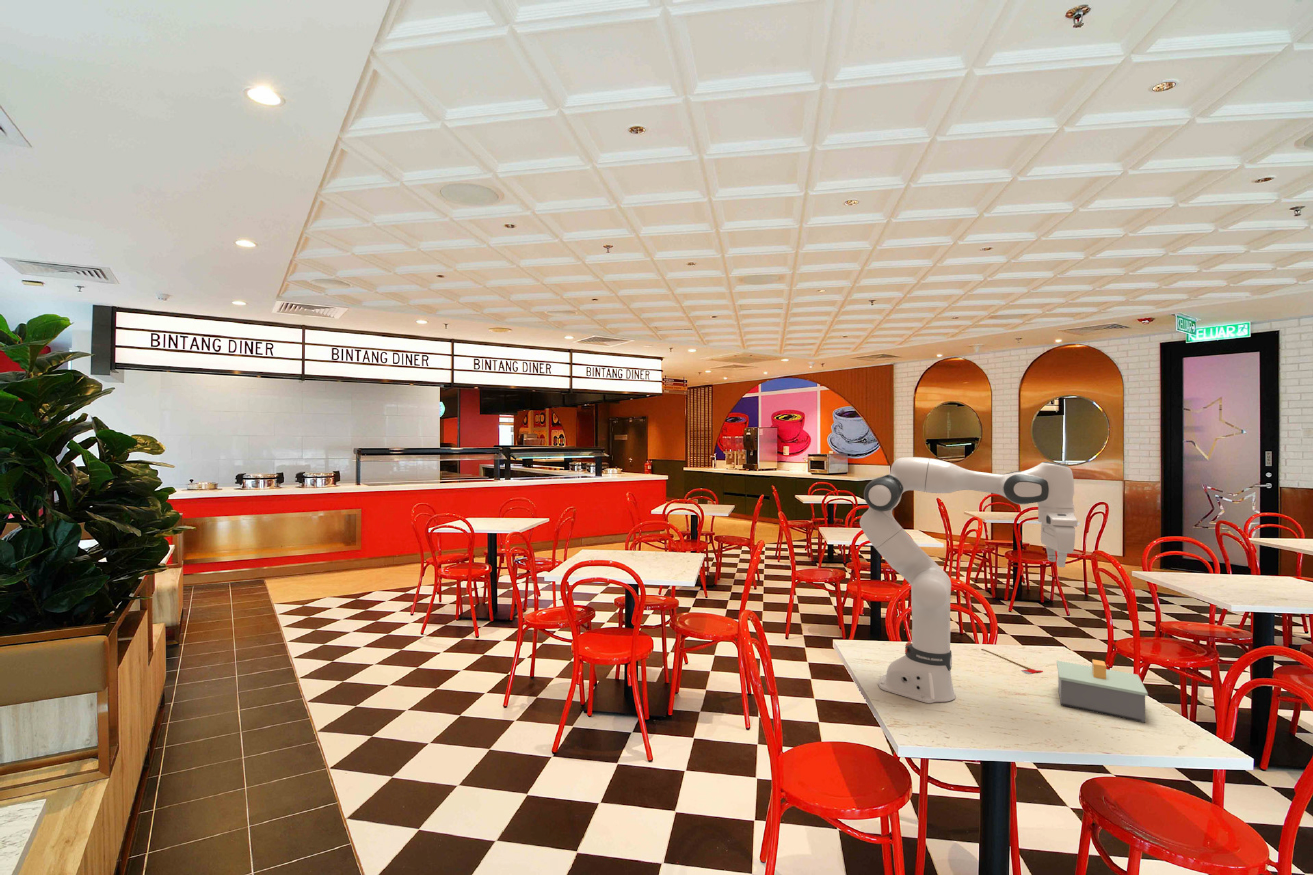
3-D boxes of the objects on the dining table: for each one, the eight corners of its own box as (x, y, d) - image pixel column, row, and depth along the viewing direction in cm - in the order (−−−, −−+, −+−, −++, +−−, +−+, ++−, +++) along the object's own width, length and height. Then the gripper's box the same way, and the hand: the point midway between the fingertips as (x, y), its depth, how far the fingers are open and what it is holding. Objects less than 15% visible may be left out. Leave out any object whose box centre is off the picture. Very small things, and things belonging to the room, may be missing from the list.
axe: (1022, 675, 206) (1050, 675, 206) (1022, 672, 206) (1050, 673, 206) (979, 650, 231) (1004, 651, 231) (979, 648, 231) (1004, 648, 231)
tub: (1060, 705, 180) (1061, 679, 180) (1058, 688, 194) (1058, 663, 194) (1144, 722, 170) (1145, 694, 170) (1135, 703, 183) (1136, 677, 183)
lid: (1059, 684, 180) (1059, 663, 180) (1056, 667, 195) (1056, 648, 195) (1147, 701, 169) (1147, 679, 169) (1137, 681, 183) (1138, 661, 184)
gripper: (1034, 513, 185) (1035, 557, 184) (1052, 519, 166) (1053, 569, 165) (1058, 514, 183) (1058, 558, 182) (1079, 521, 163) (1079, 571, 163)
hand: (1056, 563), depth 174 cm, fingers open, 8 cm apart
